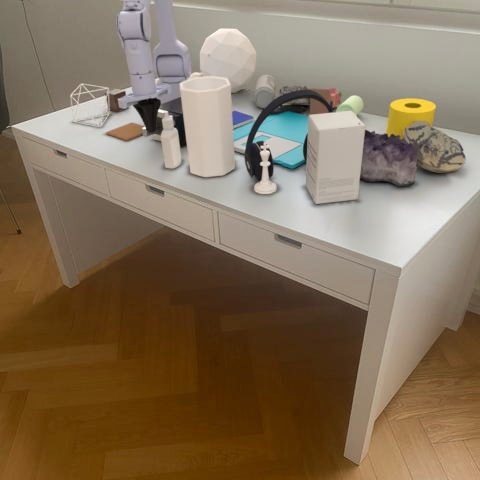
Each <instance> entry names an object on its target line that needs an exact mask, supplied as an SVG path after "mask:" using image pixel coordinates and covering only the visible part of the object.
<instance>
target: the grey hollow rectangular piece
mask: <svg viewBox="0 0 480 480" xmlns="http://www.w3.org/2000/svg"><path fill="white" fill-rule="evenodd" d="M165 112H168V113H169V111H165V110H161V109H159V111H158V114H157V120H156V131H154V132H149V131H147V130H146V127H145V126H144V127H143V128H142V131H143V135H142V137H144V138H148V137H150V136H153V140H155V141H158V142H161V133H162V131H163V124H162V119H163V118H164V117H165Z"/></svg>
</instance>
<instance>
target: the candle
mask: <svg viewBox="0 0 480 480" xmlns="http://www.w3.org/2000/svg"><path fill="white" fill-rule="evenodd" d="M363 108H364V101H363V99H362V98H361V97H360V96H359V95H350V96H349V97H348V98H347V99H346V100H345V101H343V102H342V103H340V104H339V106H338V107H337V108H336V110H335V112H343V111H352V112H353V113H354V114H355V115H356V116H357V117H358V115H359V114H360V113H361V112H362V111H363Z"/></svg>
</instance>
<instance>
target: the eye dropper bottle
mask: <svg viewBox="0 0 480 480" xmlns="http://www.w3.org/2000/svg"><path fill="white" fill-rule="evenodd" d="M162 124H163V131H162V133H161V141H160V142H161V149H162V155H163V162H164V167H165V168H166V169H176V168H178V167H179V166H180V165H181V164H182V151H181V147H180V143H179V136H178V131H177V129H176V128H174V126H173V119H172V118H171V117H169V115H168V112H165V117H164V118H163V119H162Z"/></svg>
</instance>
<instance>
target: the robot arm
mask: <svg viewBox="0 0 480 480" xmlns="http://www.w3.org/2000/svg"><path fill="white" fill-rule="evenodd" d="M151 3H152V0H123V5H122V11H120V12H119V13H118V14H117V15H116V19H115V25H116V32H117V37H118V38H119V41H120V44H121V49H122V51H124V53H125V58H126V64H127V69H128V74H129V80H130V86H131V92H129V93H126V96H124V97H122V98H119V99H118V104H119V108H122V109H124V110H127V109H128V108H129V107H133V108H134V109H135V111H136V112H137V113H138V115H139V117H140V118H141V120H142V122H143V126H144V127H146V130H147V131H149V132H154V131H156V120H157V114H158V111H159V108H160V105H161V104H163V103H166V102H168V101H171V100H174V99H177V98H179V97H181V93H180V85H179V84H180V83H181V82H183V81H186V80H187V78H189V77H190V75H191V74H192V69H193V68H192V59H191V55H190V51H189V48H188V46H187V45H186V44H184V43H183V42H181V41H180V40H179V39H178V36H177V28H176V20H175V19H176V18H175V12H174V4H173V0H153V4H154V5H153V6H154V13H155V19H156V25H157V31H158V38H159V39H158V40H159V42H158V43H157V45H156V46H155V47H154V48H153V51H152V50H151V44H150V43H151V42H150V40H151V37H152V17H151V15H150V13H151V12H150V11H151ZM157 78H160V79H159V80H158V81H157V84H156V82H155V80H156V79H157ZM127 107H128V108H127ZM126 108H127V109H126Z"/></svg>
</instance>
